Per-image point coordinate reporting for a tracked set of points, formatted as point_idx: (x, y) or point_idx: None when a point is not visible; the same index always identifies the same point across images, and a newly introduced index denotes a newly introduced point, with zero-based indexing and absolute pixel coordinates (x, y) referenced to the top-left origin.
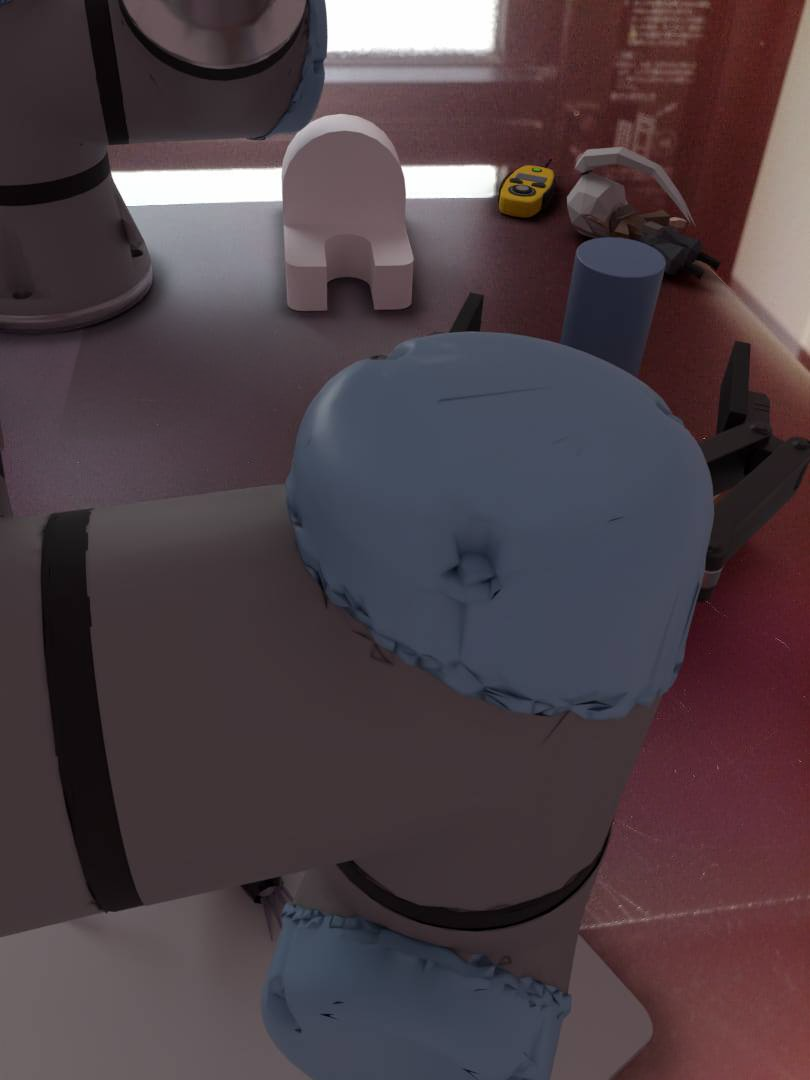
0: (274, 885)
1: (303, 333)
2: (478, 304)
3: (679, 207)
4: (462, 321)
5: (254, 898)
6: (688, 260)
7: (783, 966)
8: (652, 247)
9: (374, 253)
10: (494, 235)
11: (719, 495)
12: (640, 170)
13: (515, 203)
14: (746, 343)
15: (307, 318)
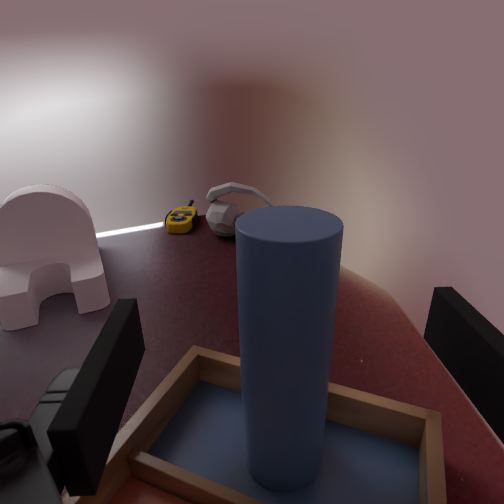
0: None
1: (10, 351)
2: (128, 313)
3: None
4: (103, 346)
5: None
6: None
7: None
8: (314, 208)
9: (71, 273)
10: (166, 246)
11: (442, 445)
12: (245, 192)
13: (176, 226)
14: (448, 287)
15: (18, 335)
